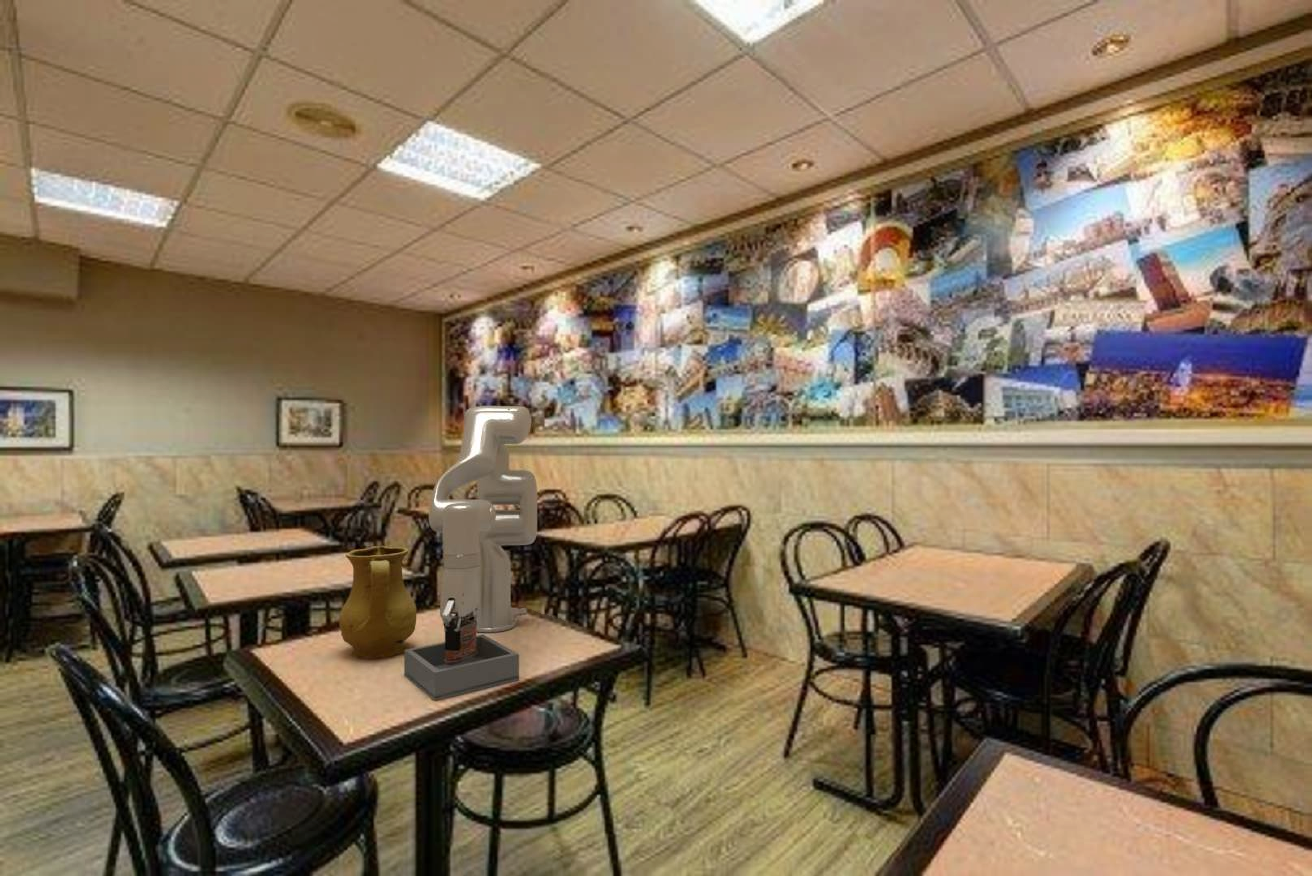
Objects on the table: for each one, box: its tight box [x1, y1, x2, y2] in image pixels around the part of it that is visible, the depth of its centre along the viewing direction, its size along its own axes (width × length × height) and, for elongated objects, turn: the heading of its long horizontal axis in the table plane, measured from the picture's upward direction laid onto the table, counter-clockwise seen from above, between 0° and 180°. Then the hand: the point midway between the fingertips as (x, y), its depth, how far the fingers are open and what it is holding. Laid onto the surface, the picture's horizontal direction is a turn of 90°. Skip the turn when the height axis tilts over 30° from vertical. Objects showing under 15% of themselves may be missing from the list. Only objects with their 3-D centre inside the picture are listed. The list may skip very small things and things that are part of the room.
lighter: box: [445, 611, 477, 666], centre depth 141 cm, size 8×3×10 cm, turn 150°
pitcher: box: [338, 545, 417, 660], centre depth 158 cm, size 17×19×25 cm
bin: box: [403, 634, 520, 702], centre depth 141 cm, size 18×18×6 cm
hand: (461, 643), depth 141 cm, fingers closed on lighter, 7 cm apart
